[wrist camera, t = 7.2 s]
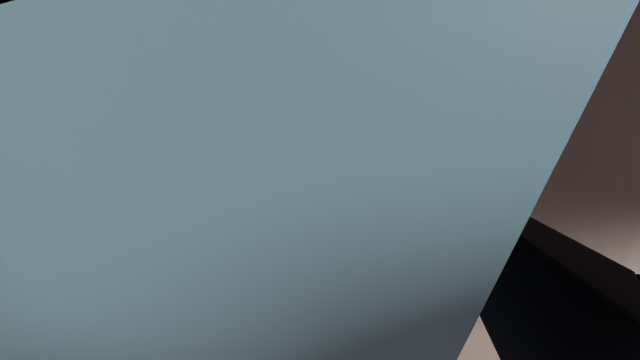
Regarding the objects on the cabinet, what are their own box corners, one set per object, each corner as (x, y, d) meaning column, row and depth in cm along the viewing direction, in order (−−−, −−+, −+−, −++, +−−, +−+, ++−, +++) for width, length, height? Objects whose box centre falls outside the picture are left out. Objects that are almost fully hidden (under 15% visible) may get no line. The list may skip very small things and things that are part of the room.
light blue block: (326, 263, 14) (381, 506, 8) (181, 272, 13) (132, 552, 7) (368, -70, 8) (650, -23, 2) (115, -94, 7) (-348, -106, 2)
